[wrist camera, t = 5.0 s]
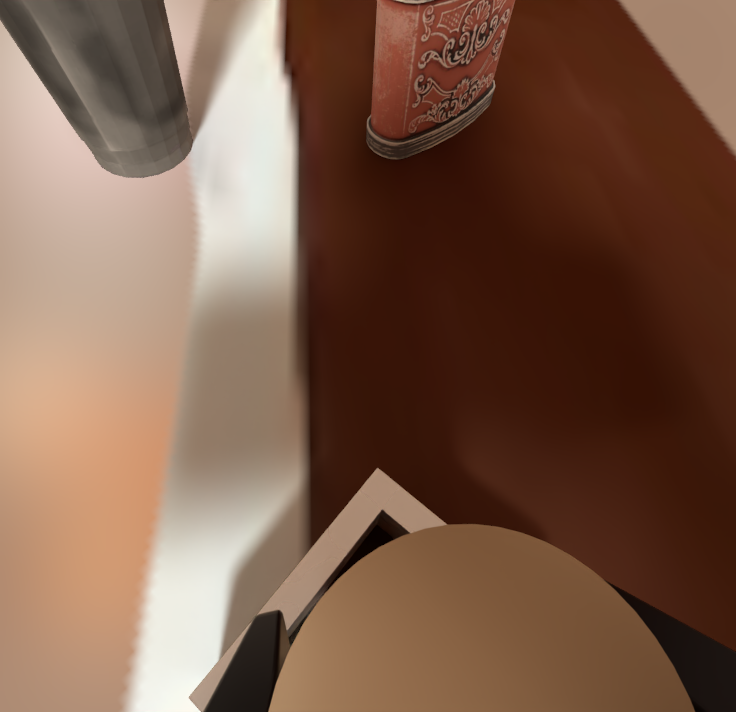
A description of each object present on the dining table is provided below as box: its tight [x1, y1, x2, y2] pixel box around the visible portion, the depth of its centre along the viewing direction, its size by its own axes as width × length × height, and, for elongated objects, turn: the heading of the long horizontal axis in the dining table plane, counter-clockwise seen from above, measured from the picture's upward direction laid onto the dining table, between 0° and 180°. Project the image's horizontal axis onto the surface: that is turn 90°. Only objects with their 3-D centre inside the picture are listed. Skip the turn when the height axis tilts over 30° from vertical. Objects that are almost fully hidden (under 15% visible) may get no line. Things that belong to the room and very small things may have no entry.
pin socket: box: [189, 468, 447, 712], centre depth 12 cm, size 7×7×2 cm
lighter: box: [366, 0, 515, 159], centre depth 20 cm, size 8×3×10 cm, turn 133°
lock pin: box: [268, 524, 695, 712], centre depth 9 cm, size 4×4×10 cm
